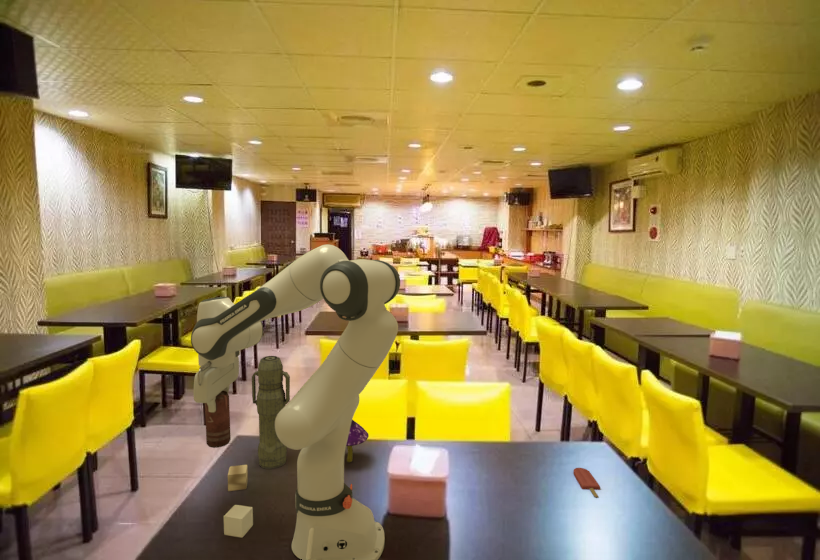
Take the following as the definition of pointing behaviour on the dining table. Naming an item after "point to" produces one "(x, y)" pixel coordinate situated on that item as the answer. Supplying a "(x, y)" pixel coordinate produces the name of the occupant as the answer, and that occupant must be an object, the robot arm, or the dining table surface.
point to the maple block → (237, 477)
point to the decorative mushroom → (355, 438)
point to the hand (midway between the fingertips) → (218, 406)
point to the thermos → (270, 410)
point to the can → (218, 422)
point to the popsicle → (586, 480)
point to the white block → (238, 520)
